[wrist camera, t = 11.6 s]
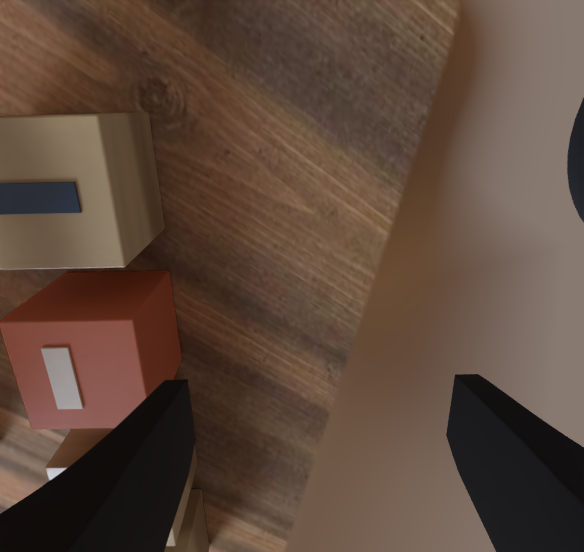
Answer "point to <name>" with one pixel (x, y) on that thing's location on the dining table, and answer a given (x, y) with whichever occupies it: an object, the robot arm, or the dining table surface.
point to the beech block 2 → (89, 437)
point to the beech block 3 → (192, 527)
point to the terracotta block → (93, 347)
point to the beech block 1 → (77, 190)
